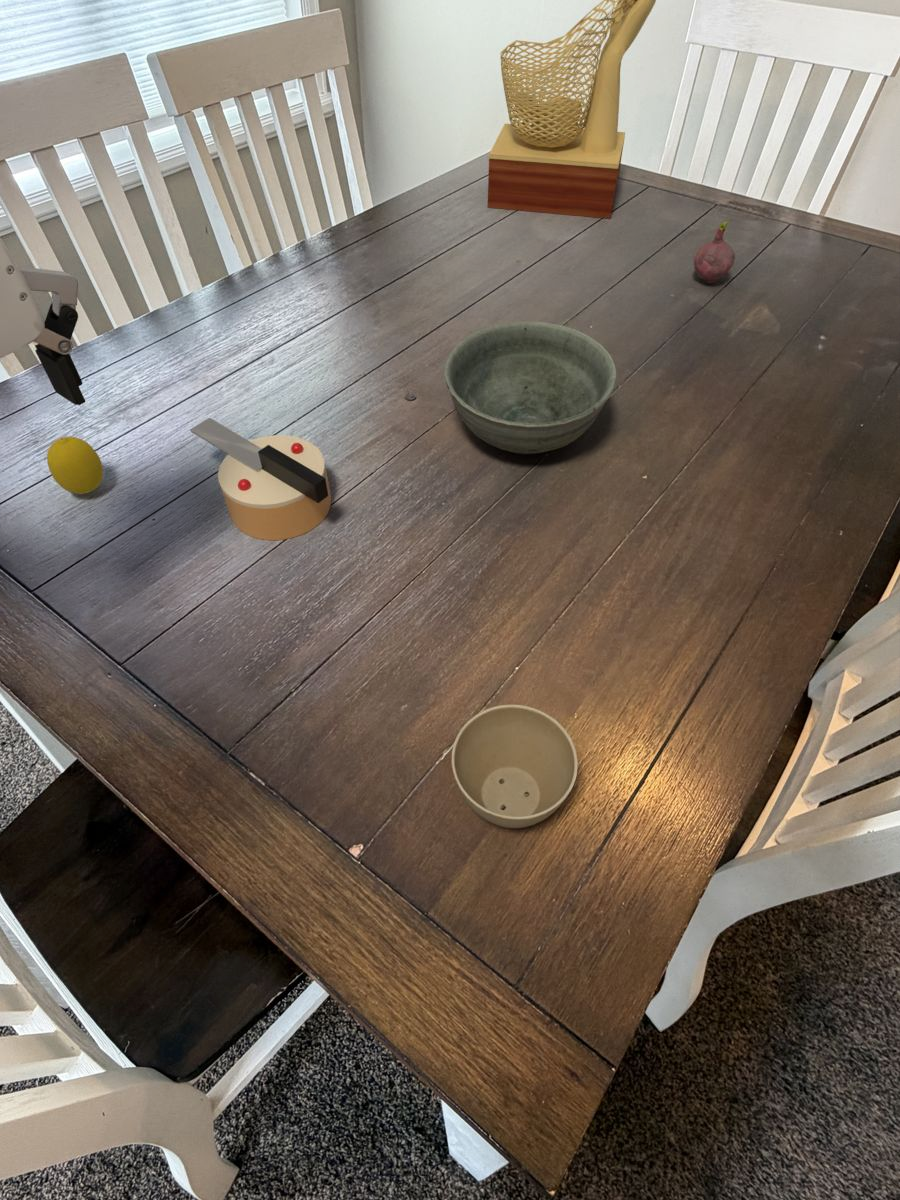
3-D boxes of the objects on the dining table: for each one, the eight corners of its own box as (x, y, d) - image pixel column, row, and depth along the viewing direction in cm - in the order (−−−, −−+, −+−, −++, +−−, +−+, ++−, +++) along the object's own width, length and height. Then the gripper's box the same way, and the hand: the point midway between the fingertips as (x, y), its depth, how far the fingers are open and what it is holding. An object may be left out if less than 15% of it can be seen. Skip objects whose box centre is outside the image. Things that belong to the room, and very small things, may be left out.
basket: (626, 184, 145) (664, -48, 118) (618, 223, 134) (659, -24, 107) (502, 173, 149) (513, -54, 122) (485, 211, 138) (493, -30, 111)
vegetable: (683, 286, 119) (699, 223, 112) (696, 270, 123) (712, 208, 115) (719, 296, 117) (738, 232, 110) (731, 280, 121) (750, 217, 113)
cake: (208, 510, 87) (193, 467, 82) (283, 458, 92) (273, 416, 87) (277, 556, 82) (266, 514, 77) (352, 498, 88) (345, 456, 83)
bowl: (626, 412, 98) (641, 345, 90) (567, 508, 86) (577, 440, 79) (488, 371, 104) (490, 305, 97) (415, 455, 93) (411, 388, 85)
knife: (313, 507, 79) (309, 489, 77) (190, 431, 87) (184, 413, 85) (333, 492, 80) (330, 474, 78) (210, 419, 89) (204, 401, 87)
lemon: (56, 504, 87) (26, 451, 81) (79, 474, 91) (51, 421, 85) (99, 509, 87) (72, 456, 81) (120, 479, 90) (95, 426, 84)
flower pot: (510, 725, 68) (515, 683, 62) (591, 801, 63) (604, 763, 58) (428, 791, 64) (425, 752, 58) (507, 878, 59) (513, 845, 53)
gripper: (-19, 122, 47) (86, 359, 60) (-329, 215, 38) (-127, 467, 52) (46, 149, 44) (141, 393, 57) (-275, 257, 35) (-76, 513, 49)
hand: (14, 428), depth 54 cm, fingers open, 9 cm apart
